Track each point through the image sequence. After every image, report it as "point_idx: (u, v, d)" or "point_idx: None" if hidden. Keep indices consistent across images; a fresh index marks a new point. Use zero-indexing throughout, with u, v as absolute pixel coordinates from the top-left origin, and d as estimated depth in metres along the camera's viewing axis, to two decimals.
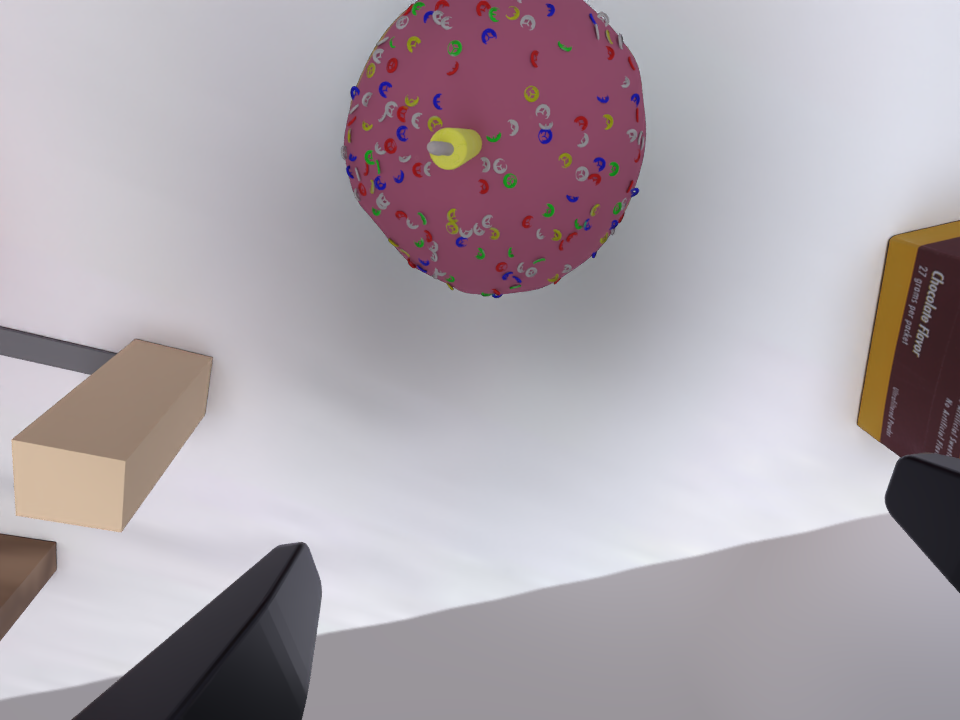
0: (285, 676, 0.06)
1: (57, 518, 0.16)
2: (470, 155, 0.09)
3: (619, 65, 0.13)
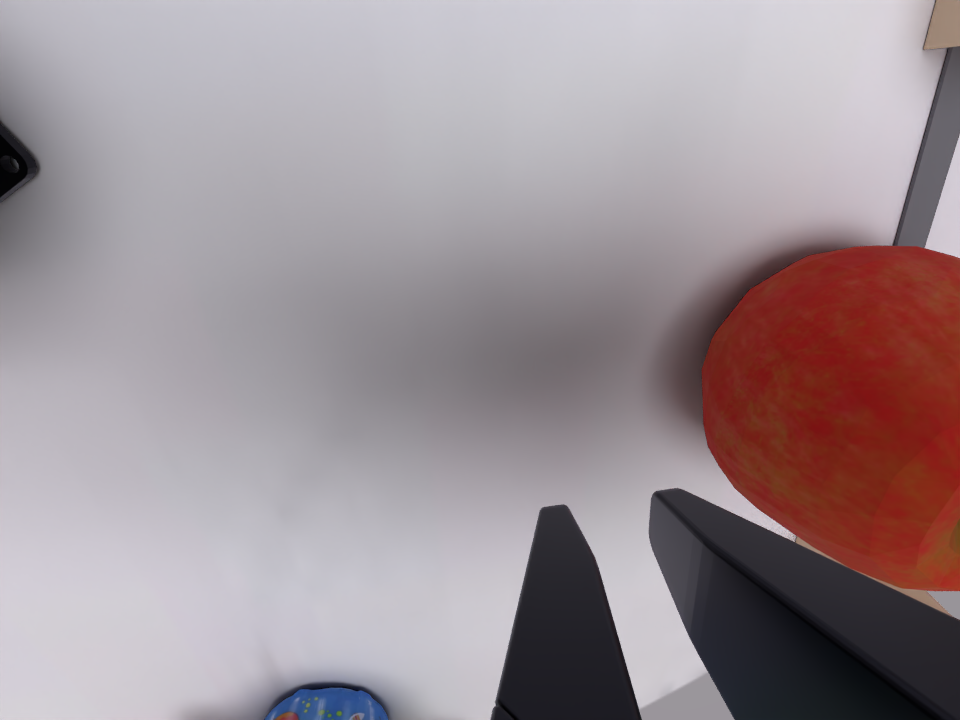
0: None
1: None
2: None
3: None
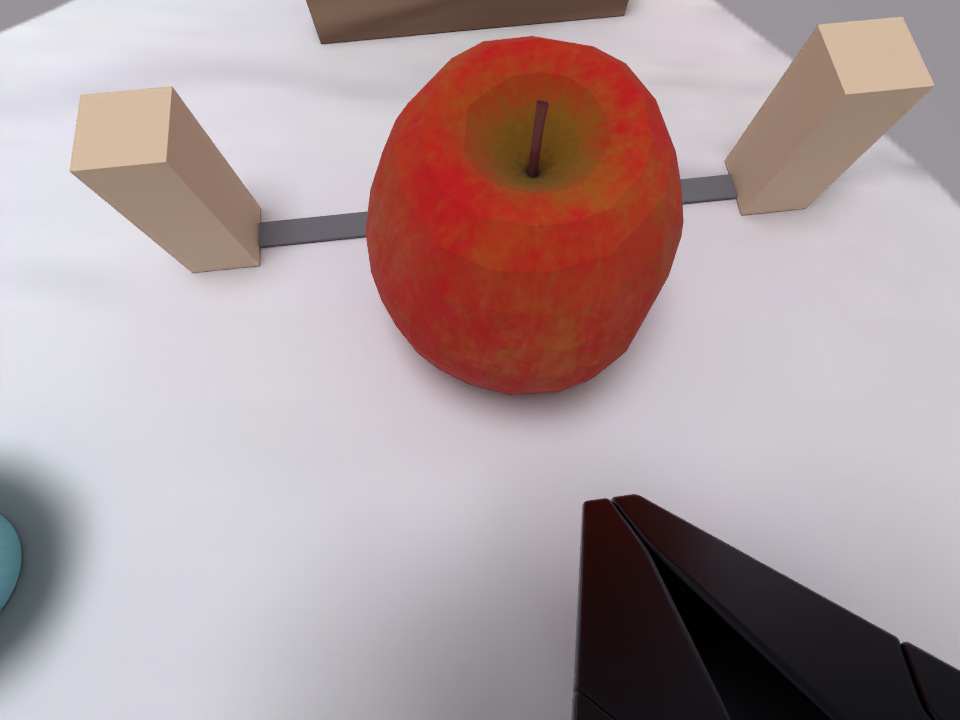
0: None
1: (137, 93, 0.17)
2: None
3: None
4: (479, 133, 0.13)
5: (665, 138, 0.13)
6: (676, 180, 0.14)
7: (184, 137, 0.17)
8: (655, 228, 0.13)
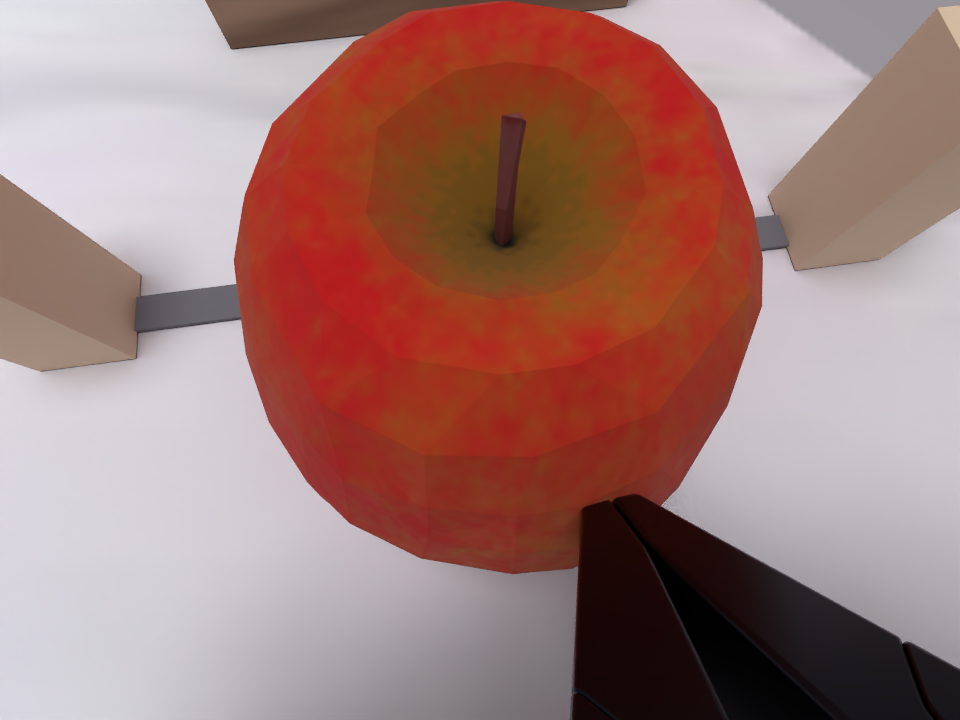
0: None
1: None
2: None
3: None
4: (400, 177, 0.07)
5: (740, 177, 0.07)
6: (758, 250, 0.08)
7: None
8: (731, 346, 0.07)
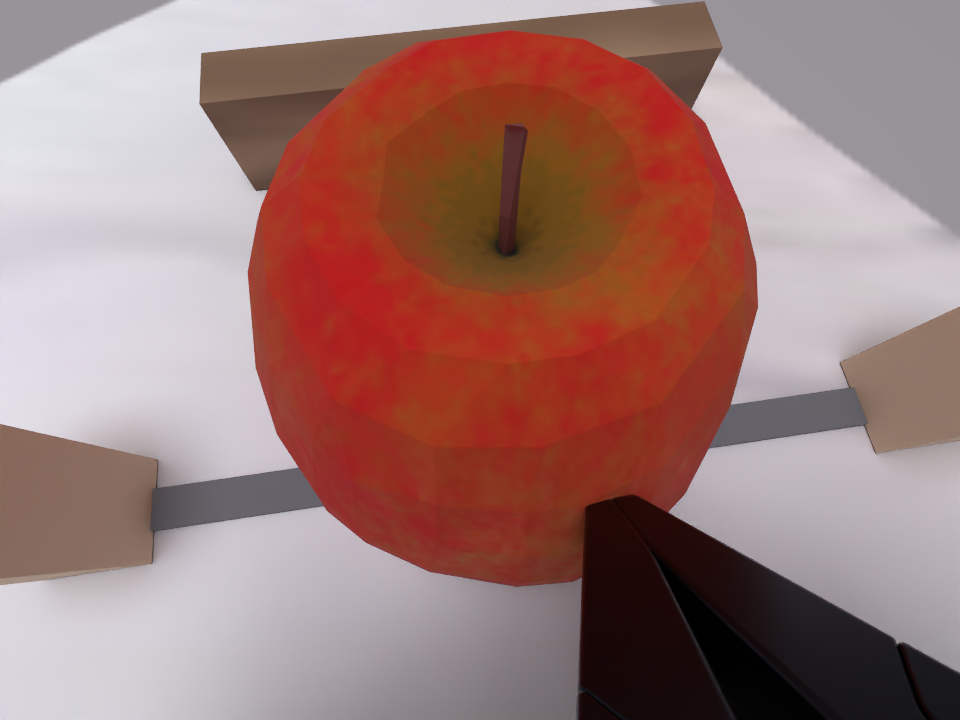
0: None
1: None
2: None
3: None
4: (409, 188, 0.08)
5: (730, 185, 0.08)
6: (751, 254, 0.08)
7: None
8: (730, 343, 0.07)
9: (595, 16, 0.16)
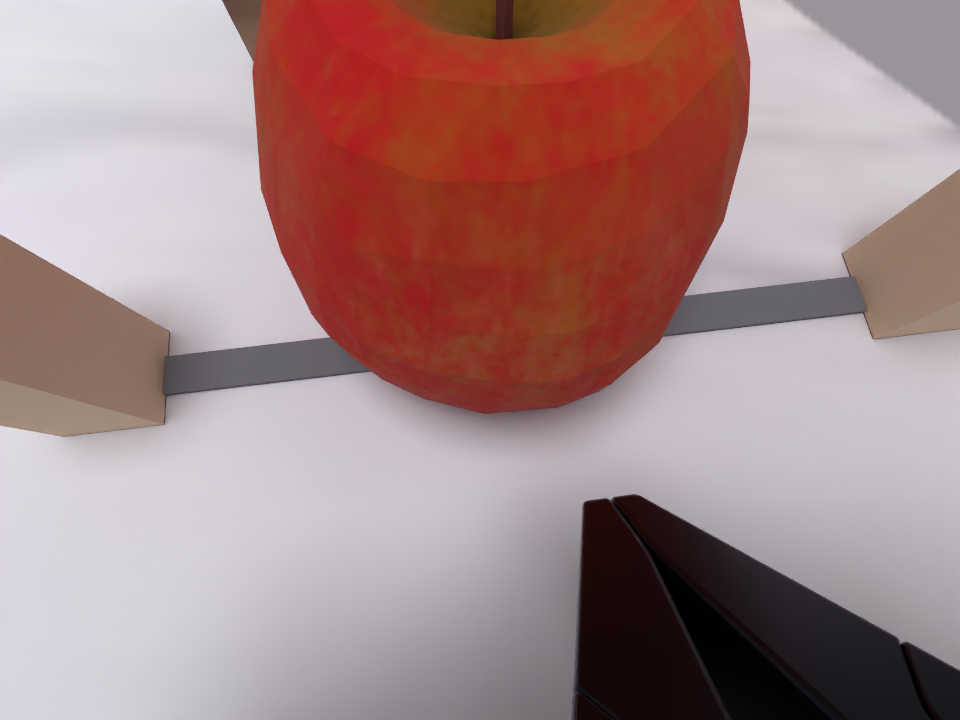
0: None
1: None
2: None
3: None
4: None
5: None
6: (745, 43, 0.08)
7: None
8: (717, 113, 0.07)
9: None
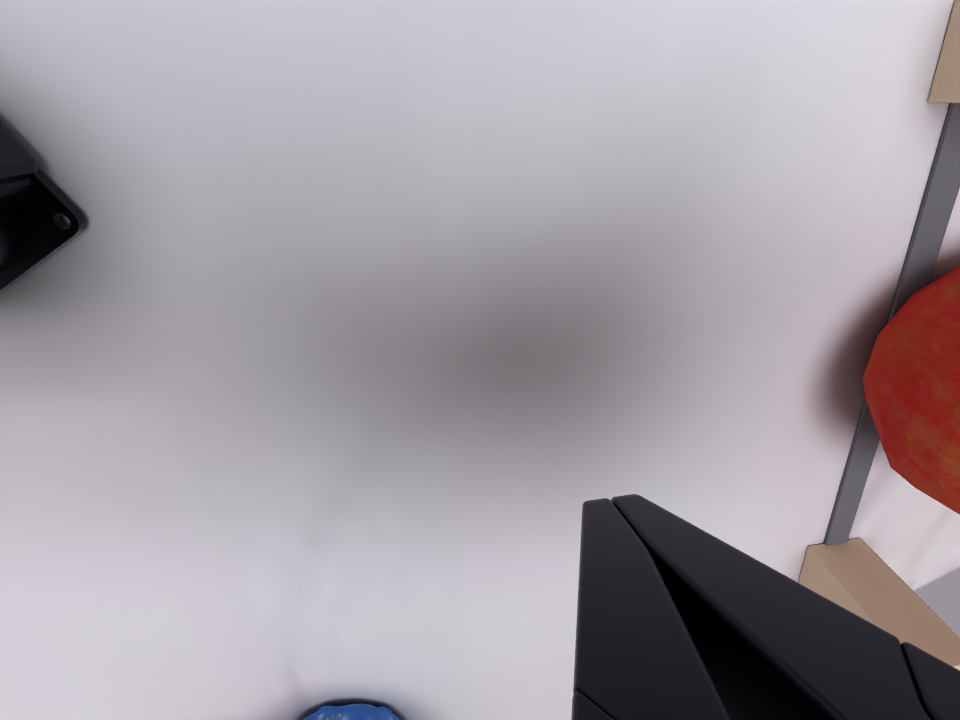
0: None
1: None
2: None
3: None
4: None
5: None
6: None
7: None
8: None
9: None
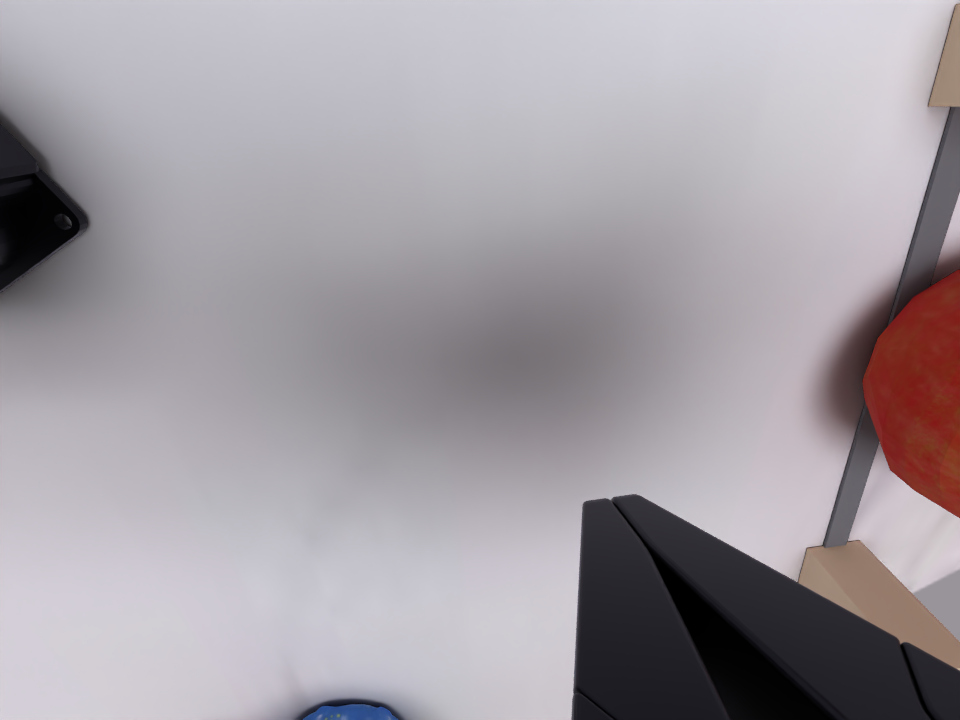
0: None
1: None
2: None
3: None
4: None
5: None
6: None
7: None
8: None
9: None
